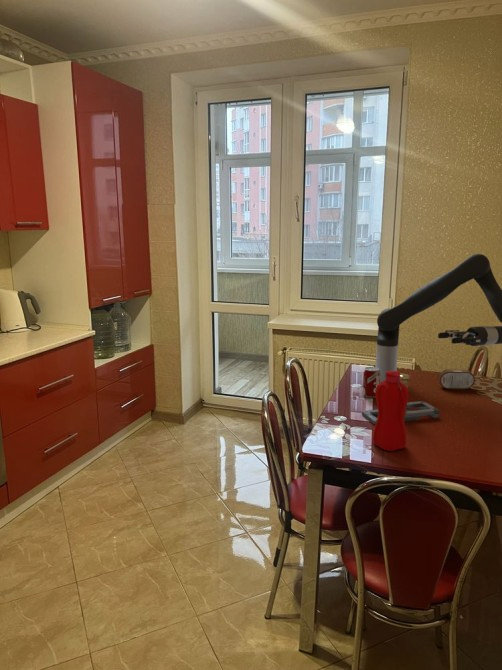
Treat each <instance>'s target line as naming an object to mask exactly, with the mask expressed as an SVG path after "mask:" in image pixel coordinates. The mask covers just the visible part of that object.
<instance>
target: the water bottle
mask: <svg viewBox="0 0 502 670" xmlns="http://www.w3.org/2000/svg"><path fill="white" fill-rule="evenodd" d="M408 388H409V387H406V385H404V384H403V383H402V382H400V371H387V372H386V380H385V381H383V382H381V383H379V384H378V386H377V388H376V392H375V396H376V398H375V402H376V407H377V409H378V415H377V417H376V418H377V421H376V425H374V428H373V432H372V433H373V434H372V435H373V436H372V441H373V442H372V443H374V444H375V446H377V447H379V448H380V449H382V450H383V449H384V451H385V450H387V451H386V452H394V451H398V450H401V449H402V450H403V449H404V448H405V447H406V445H407V430H406V425H405V424H406V423H405V422H404V417H405V413H406V406H407V403H409V399H410V395H409V389H408ZM397 449H398V450H397Z"/></svg>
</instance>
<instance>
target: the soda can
mask: <svg viewBox="0 0 502 670" xmlns="http://www.w3.org/2000/svg"><path fill="white" fill-rule="evenodd" d="M362 381H363V384H362V395H363V396H364V397H366V398H368V399H376V396H375V392H376V388H377V386H378V384H379V383H380V372H379V368H376V367H375V366H367V367H365V370H364V371H363V380H362Z"/></svg>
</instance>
